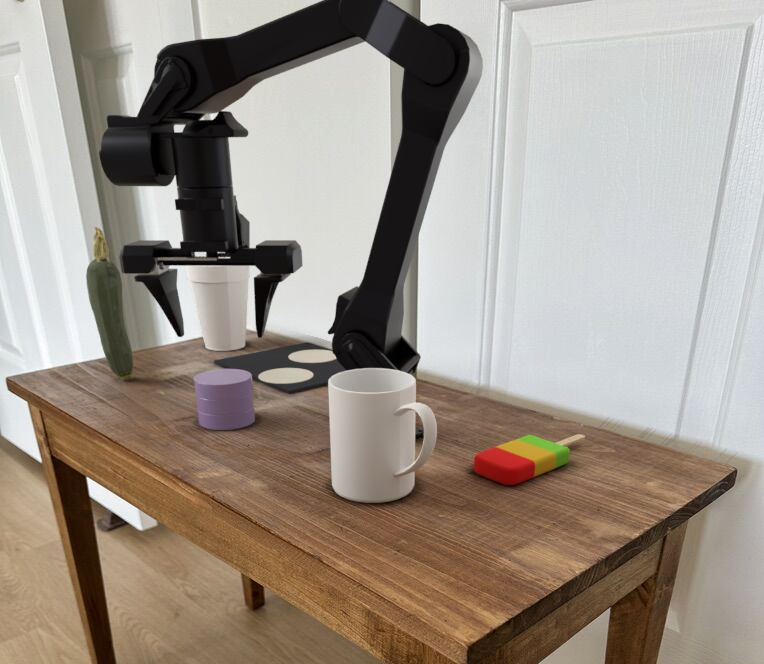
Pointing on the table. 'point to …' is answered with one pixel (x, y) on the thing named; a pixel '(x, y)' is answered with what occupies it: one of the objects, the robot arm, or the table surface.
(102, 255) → the vegetable
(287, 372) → the place mat
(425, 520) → the table surface
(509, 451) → the popsicle
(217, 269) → the foam cup
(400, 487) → the mug
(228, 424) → the purple flat disc
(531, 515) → the table surface
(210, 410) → the purple puck
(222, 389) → the purple round puck
